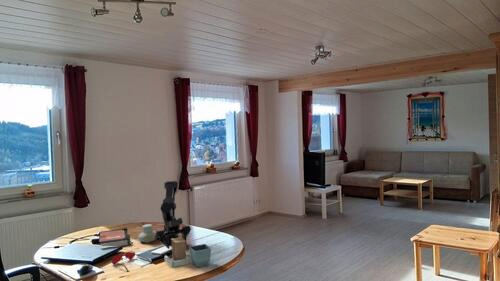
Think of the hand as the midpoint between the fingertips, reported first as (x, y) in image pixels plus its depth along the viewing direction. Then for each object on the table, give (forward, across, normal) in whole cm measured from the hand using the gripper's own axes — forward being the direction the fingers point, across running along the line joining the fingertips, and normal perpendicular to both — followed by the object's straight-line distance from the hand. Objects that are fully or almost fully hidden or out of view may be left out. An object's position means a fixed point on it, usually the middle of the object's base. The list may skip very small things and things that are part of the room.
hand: (177, 246), depth 200 cm
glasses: (0, -22, +11) cm, 25 cm away
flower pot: (+15, +7, -5) cm, 17 cm away
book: (-34, -21, +46) cm, 61 cm away
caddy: (+6, 0, +3) cm, 7 cm away
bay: (+7, 0, +3) cm, 7 cm away
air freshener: (-25, -3, +36) cm, 44 cm away
